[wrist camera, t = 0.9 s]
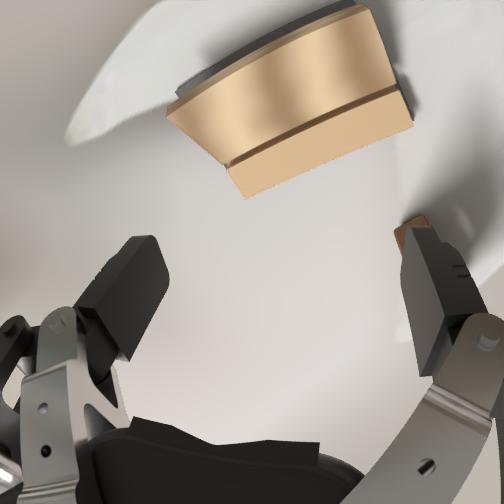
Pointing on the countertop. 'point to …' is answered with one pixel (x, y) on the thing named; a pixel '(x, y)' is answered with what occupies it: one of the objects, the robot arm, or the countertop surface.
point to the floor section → (311, 124)
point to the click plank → (285, 84)
